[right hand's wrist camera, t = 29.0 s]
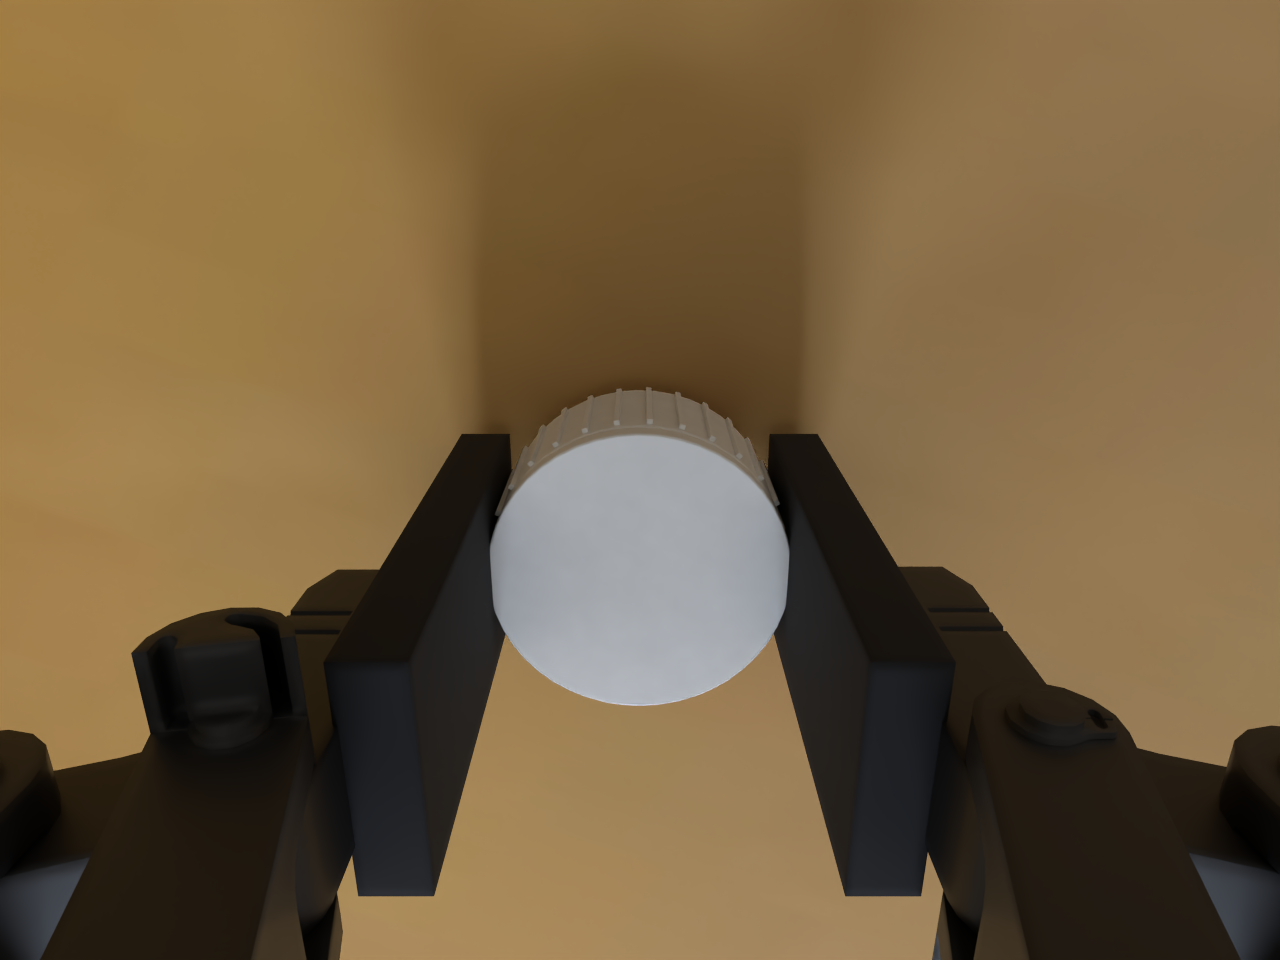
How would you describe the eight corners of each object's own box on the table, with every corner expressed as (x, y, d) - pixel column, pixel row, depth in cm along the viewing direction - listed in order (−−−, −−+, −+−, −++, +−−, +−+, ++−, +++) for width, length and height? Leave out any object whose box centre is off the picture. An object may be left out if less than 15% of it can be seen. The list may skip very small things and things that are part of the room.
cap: (709, 663, 15) (720, 746, 13) (471, 580, 15) (443, 653, 13) (818, 444, 14) (850, 498, 12) (558, 343, 13) (543, 381, 11)
